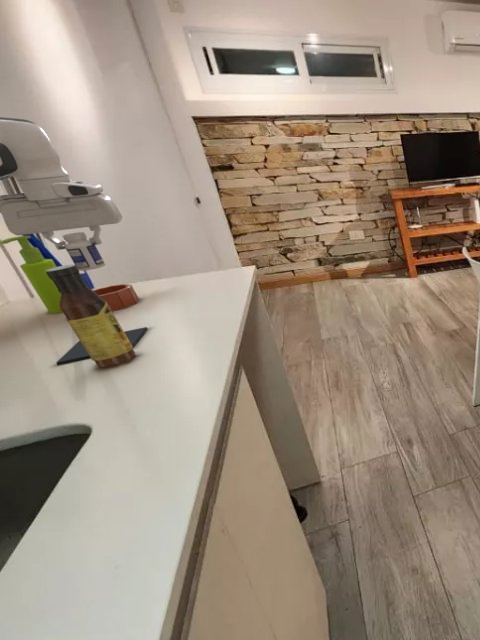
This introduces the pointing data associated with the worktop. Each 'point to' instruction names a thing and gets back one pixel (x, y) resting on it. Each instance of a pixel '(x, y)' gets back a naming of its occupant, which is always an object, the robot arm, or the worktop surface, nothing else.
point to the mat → (80, 352)
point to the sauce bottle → (91, 318)
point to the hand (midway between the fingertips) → (80, 246)
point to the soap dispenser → (38, 273)
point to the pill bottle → (83, 252)
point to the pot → (118, 296)
